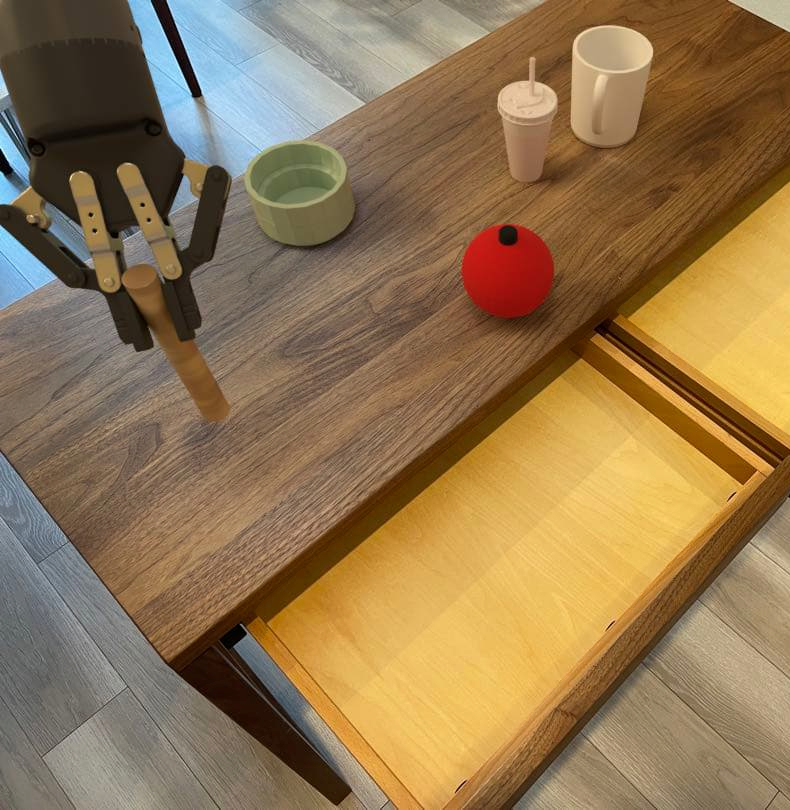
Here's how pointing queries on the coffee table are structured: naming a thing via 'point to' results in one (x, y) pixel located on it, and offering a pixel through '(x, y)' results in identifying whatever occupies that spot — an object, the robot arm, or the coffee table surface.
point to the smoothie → (527, 124)
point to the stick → (175, 342)
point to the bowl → (300, 192)
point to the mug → (608, 84)
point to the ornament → (507, 270)
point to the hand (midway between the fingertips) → (167, 343)
